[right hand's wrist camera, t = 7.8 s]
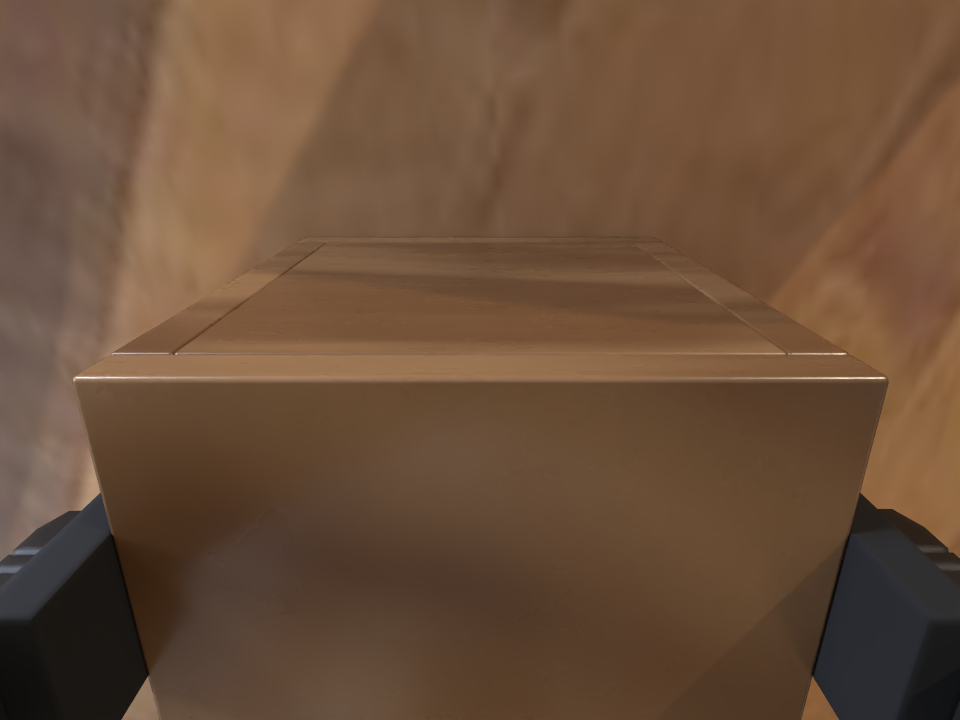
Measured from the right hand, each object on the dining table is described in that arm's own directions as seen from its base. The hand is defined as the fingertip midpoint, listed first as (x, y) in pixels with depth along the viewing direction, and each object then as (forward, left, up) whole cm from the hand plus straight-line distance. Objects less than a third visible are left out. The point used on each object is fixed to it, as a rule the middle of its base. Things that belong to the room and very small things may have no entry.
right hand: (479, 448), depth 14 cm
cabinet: (+4, -6, -6) cm, 9 cm away
